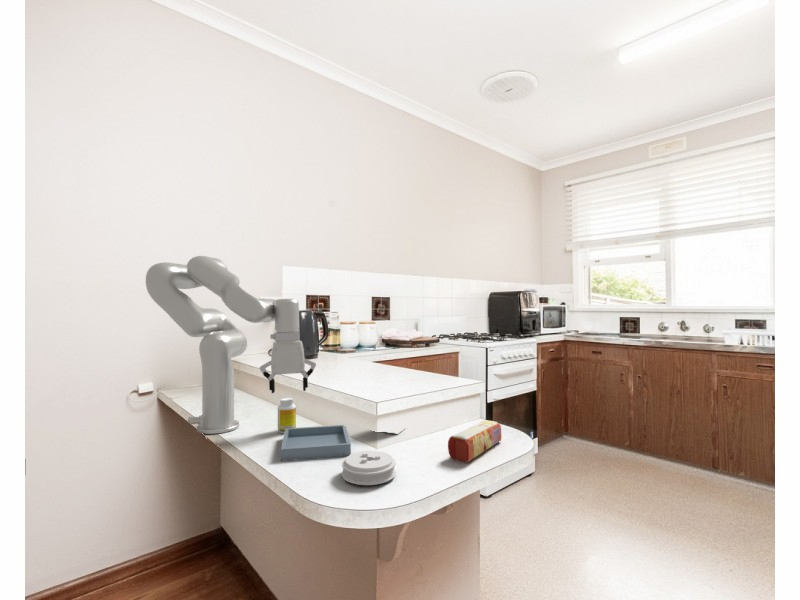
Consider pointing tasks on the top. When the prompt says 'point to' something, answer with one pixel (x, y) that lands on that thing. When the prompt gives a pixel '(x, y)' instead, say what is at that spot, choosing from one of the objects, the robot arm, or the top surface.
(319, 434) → the tray
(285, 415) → the supplement bottle
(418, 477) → the top surface
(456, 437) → the snack package
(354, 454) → the lid
